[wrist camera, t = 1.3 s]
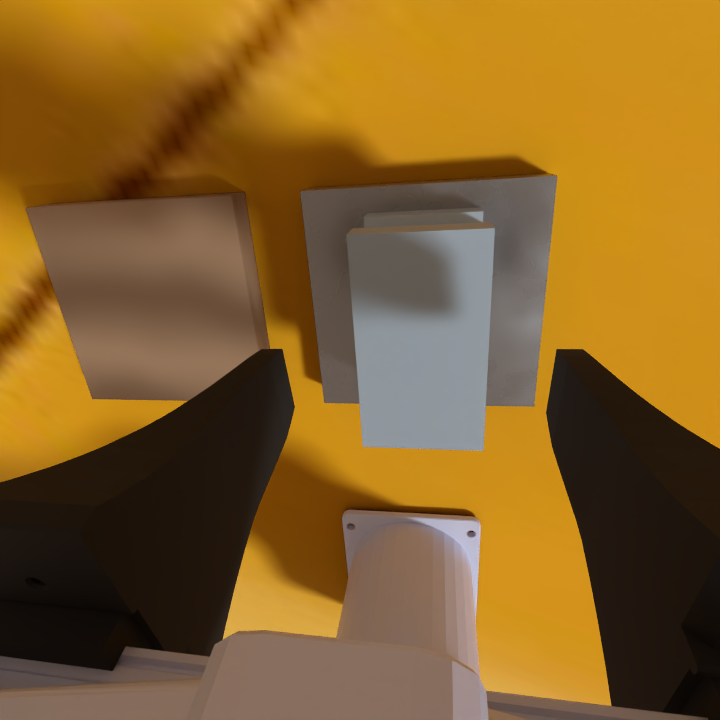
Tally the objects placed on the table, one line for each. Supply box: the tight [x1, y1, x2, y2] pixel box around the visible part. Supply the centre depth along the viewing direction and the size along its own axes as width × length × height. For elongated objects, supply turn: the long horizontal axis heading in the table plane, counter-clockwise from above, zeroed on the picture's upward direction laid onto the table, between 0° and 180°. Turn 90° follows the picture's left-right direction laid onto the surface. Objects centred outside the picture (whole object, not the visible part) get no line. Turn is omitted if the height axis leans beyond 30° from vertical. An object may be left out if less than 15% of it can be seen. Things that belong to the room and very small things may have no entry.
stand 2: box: [300, 173, 557, 406], centre depth 21 cm, size 10×10×2 cm
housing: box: [346, 207, 495, 451], centre depth 18 cm, size 8×4×5 cm, turn 4°
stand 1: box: [26, 192, 270, 401], centre depth 23 cm, size 10×10×2 cm
